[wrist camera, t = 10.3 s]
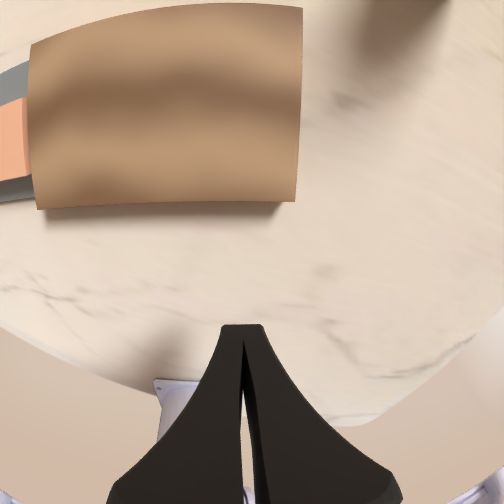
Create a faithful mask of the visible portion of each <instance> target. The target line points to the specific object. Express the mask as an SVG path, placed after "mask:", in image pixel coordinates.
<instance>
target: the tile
mask: <svg viewBox="0 0 504 504" xmlns="http://www.w3.org/2000/svg"><path fill="white" fill-rule="evenodd" d="M29 174H32V173H31V164H30V154H29V142H28V121H27V97H24V98H20V99H17V100H15V101H12V102H10V103H7V104H5V105H2V106H0V181H3V180H8V179H12V178H17V177H22V176H27V175H29Z"/></svg>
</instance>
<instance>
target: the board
mask: <svg viewBox="0 0 504 504" xmlns="http://www.w3.org/2000/svg"><path fill="white" fill-rule="evenodd" d="M302 45H303V8H300V7H292V6H283V5H272V4H256V3H208V4H192V5H181V6H171V7H164V8H156V9H150V10H144V11H139V12H133V13H128V14H124V15H119V16H115V17H111V18H107V19H103V20H99V21H96V22H92V23H89V24H86V25H82V26H79V27H76V28H73V29H70V30H67V31H64V32H62V33H59V34H56V35H54V36H51V37H49V38H46V39H44V40H41V41H39V42H37V43H34V44H32V45H31V50H30V59H29V71H28V91H27V121H28V142H29V154H30V164H31V173H32V180H33V187H34V194H35V200H36V205H37V210H43V209H54V208H66V207H79V206H93V205H109V204H128V203H152V202H188V201H273V202H295V195H296V181H297V166H298V150H299V132H300V111H301V85H302Z"/></svg>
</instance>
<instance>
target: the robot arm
mask: <svg viewBox="0 0 504 504" xmlns="http://www.w3.org/2000/svg"><path fill="white" fill-rule="evenodd" d="M153 386H154V389H155V391H156V394H157V397H158V399H159V402H160V405H161V407H162V412H161V418H160V424H159V431H158V437H157V443H156V444H155V445H154V446H153V447H152V448H151V449H150V451H149V452H148V453H147V454H146V455H145V456H144V457H143V458H142V459H141V460H140V461H139V462H138V463H137V464H136V465H134V466H133V467H132V468H131V469H130V470H129V471H128V472H126V473H125V474H124V475H123V476H122V477H121V478H119V480H117V481H116V482H115V483H114V484H113V486H112V489H111V491H110V493H109V496H108V499H107V502H106V504H400V503H401V502H402V500H403V497H402V493H401V490H400V488H399V486H398V484H397V482H396V480H395V478H394V476H393V474H392V472H391V471H389V470H387V469H386V468H384V467H382V466H381V465H379V464H378V463H376V462H374V461H373V460H372V459H370V458H369V457H367V456H366V455H365V454H363V453H362V452H361V451H359V450H358V449H357V448H355V447H354V446H353V445H352V444H350V443H349V442H348V441H347V440H346V439H345V438H343V437H342V436H341V435H340V434H339V433H338V432H336V430H335V429H333V428H332V427H331V426H330V425H329V424H328V423H327V422H326V421H325V420H324V419H323V418H322V417H321V416H320V415H319V414H318V413H317V411H316V410H315V409H314V408H313V407H312V406H311V405H310V403H309V402H308V401H307V400H306V399H305V397H304V396H303V395H302V394H301V392H300V391H299V390H298V388H297V387H296V385H295V384H294V383H293V381H292V380H291V378H290V377H289V375H288V374H287V372H286V371H285V369H284V368H283V366H282V364H281V363H280V361H279V359H278V358H277V356H276V354H275V352H274V350H273V348H272V346H271V344H270V342H269V340H268V338H267V336H266V333H265V331H264V328H263V326H262V325H261V324H242V325H223V326H222V327H221V332H220V336H219V339H218V342H217V345H216V348H215V351H214V353H213V356H212V358H211V360H210V362H209V364H208V367H207V369H206V371H205V373H204V375H203V377H202V379H201V380H200V382H195V381H174V380H160V379H156V380H154V381H153ZM243 392H244V399H245V406H246V412H247V419H248V424H249V431H250V437H251V445H252V457H253V474H254V492H255V493H254V492H253V491H252V490H251V489H250V488H249V487H243V478H242V460H241V442H240V441H241V440H240V427H241V411H242V395H243ZM0 504H24V503H22V502H20V501H18V500H16V499H15V498H13V497H11V496H10V495H8V494H7V493H5V492H4V491H2V490H1V489H0ZM446 504H504V466H503V467H501V468H500V469H498V470H497V471H496V472H494V473H493V474H492V475H490V476H489V477H487V478H486V479H485V480H484V481H482V482H481V483H479V484H478V485H476V486H474V487H473V488H471V489H470V490H468V491H466V492H465V493H463V494H461V495H460V496H458V497H457V498H455V499H453V500H451V501H449V502H448V503H446Z"/></svg>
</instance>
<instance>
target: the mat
mask: <svg viewBox="0 0 504 504" xmlns="http://www.w3.org/2000/svg"><path fill="white" fill-rule="evenodd" d="M28 71H29V61H27V62H24V63H22V64H20V65H18V66H16V67H13V68H11V69H9V70H7V71H5V72H3V73H1V74H0V106H2V105H5V104H7V103H10V102H12V101H15V100H17V99H20V98H24V97H27V91H28ZM32 197H35V194H34V187H33V180H32V174H29V175H27V176H22V177H17V178H12V179H8V180H3V181H0V202H4V201H11V200H17V199H24V198H32Z"/></svg>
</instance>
